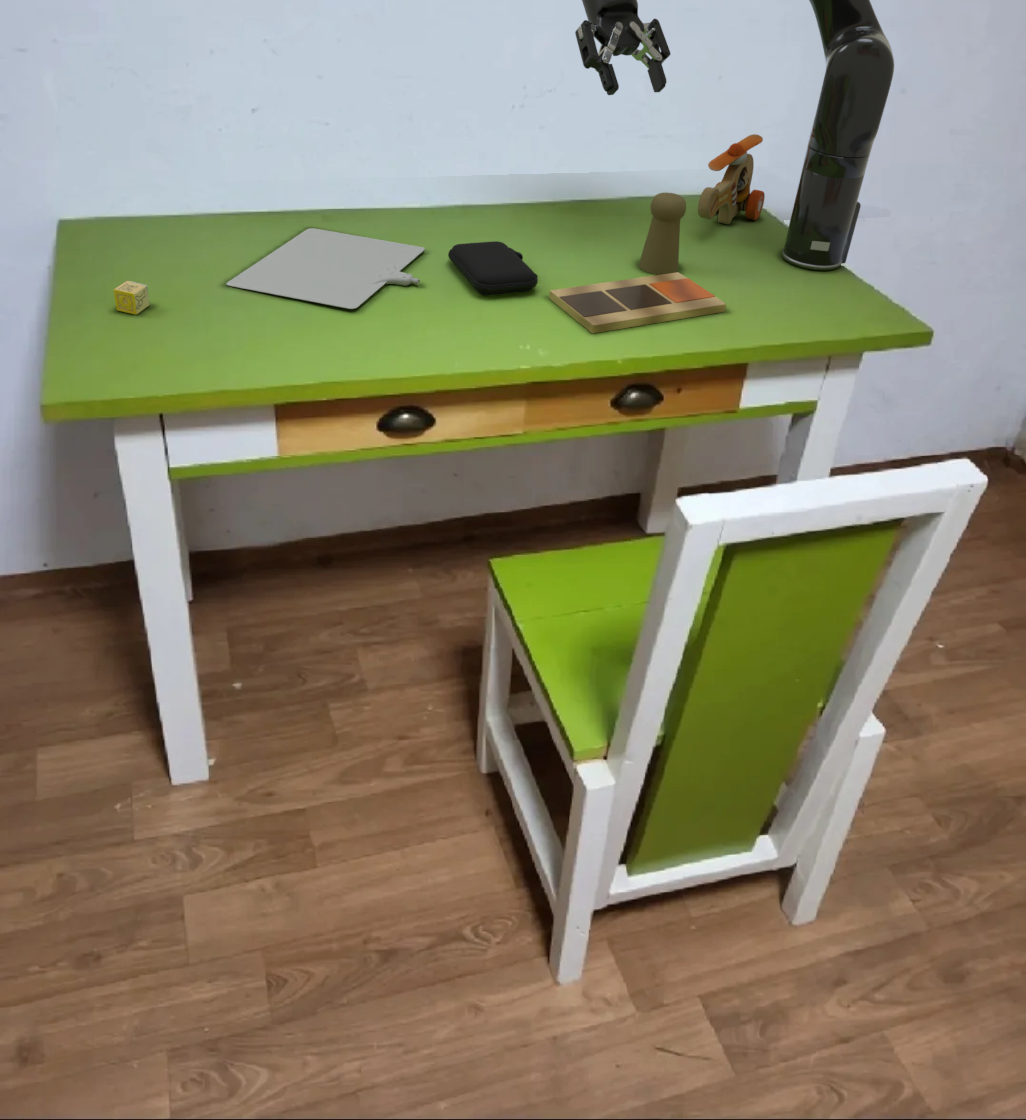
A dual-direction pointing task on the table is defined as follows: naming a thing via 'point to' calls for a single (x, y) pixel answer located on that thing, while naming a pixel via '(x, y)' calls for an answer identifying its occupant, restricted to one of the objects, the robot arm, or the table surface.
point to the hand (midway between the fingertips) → (637, 90)
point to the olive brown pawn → (663, 235)
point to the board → (636, 302)
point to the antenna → (330, 268)
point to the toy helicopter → (733, 185)
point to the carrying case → (493, 268)
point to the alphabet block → (131, 297)
